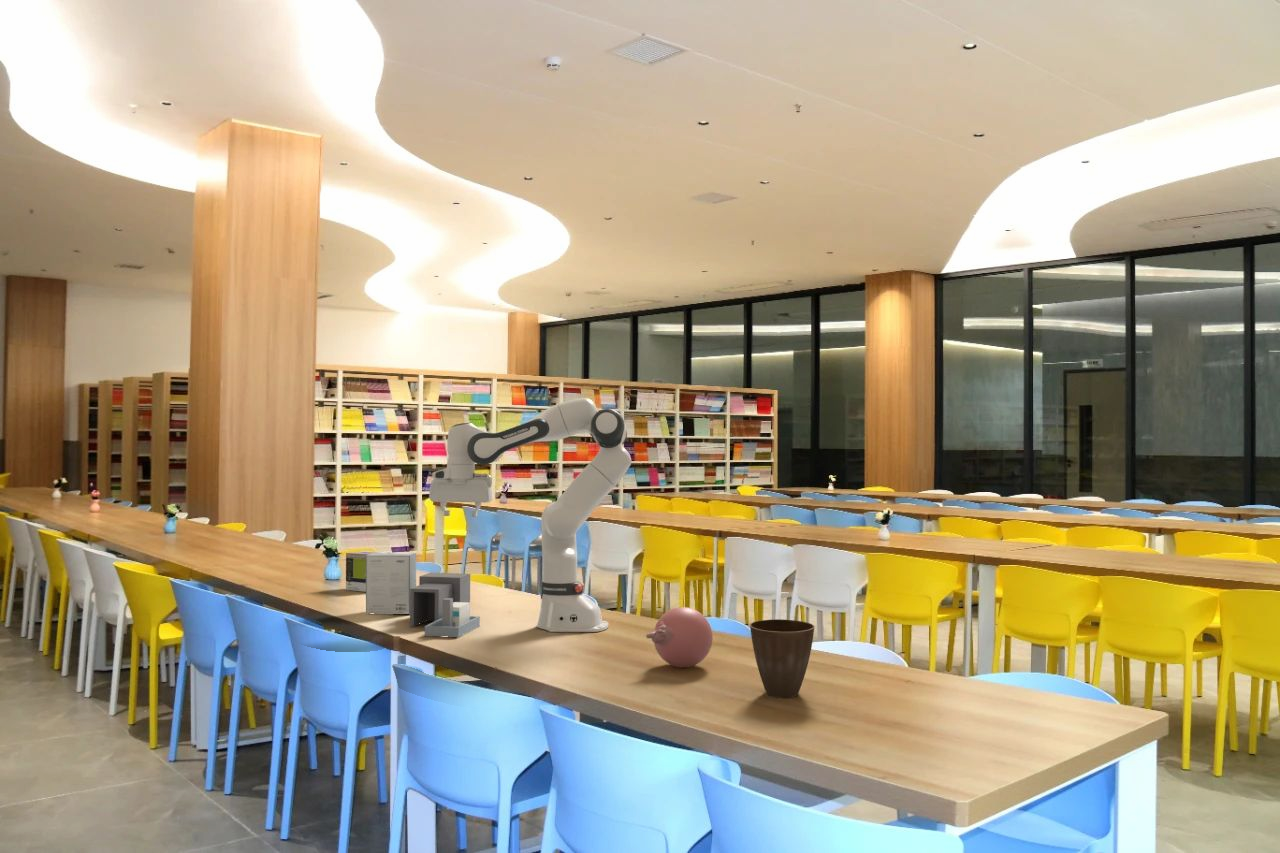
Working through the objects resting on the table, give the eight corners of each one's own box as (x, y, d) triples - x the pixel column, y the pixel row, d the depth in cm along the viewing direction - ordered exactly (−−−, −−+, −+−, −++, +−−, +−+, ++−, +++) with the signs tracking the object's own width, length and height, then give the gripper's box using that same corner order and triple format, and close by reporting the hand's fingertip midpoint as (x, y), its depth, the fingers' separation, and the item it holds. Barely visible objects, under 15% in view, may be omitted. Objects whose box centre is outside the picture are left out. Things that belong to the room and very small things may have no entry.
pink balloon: (627, 667, 257) (627, 608, 257) (686, 657, 269) (687, 600, 269) (663, 679, 244) (664, 616, 244) (724, 668, 256) (724, 608, 256)
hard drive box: (417, 611, 338) (417, 553, 338) (409, 615, 330) (410, 555, 330) (373, 610, 339) (373, 552, 339) (364, 614, 331) (365, 554, 332)
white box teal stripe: (469, 624, 310) (470, 593, 310) (453, 633, 297) (454, 599, 297) (454, 624, 311) (454, 592, 311) (438, 632, 298) (438, 599, 298)
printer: (470, 615, 329) (470, 573, 330) (445, 628, 308) (445, 583, 308) (430, 614, 332) (430, 572, 332) (403, 626, 310) (403, 581, 310)
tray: (479, 626, 311) (479, 616, 311) (458, 638, 293) (458, 627, 293) (447, 625, 313) (447, 615, 313) (424, 636, 295) (424, 626, 295)
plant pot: (806, 705, 221) (806, 633, 221) (742, 698, 227) (742, 628, 227) (819, 689, 235) (820, 622, 235) (758, 683, 240) (759, 617, 241)
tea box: (391, 590, 384) (391, 552, 385) (371, 593, 376) (372, 554, 376) (364, 587, 392) (364, 549, 393) (344, 590, 384) (344, 552, 384)
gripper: (495, 473, 319) (494, 516, 319) (435, 472, 323) (434, 514, 323) (488, 473, 313) (488, 517, 313) (427, 473, 317) (427, 516, 317)
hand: (460, 516), depth 318 cm, fingers open, 8 cm apart
